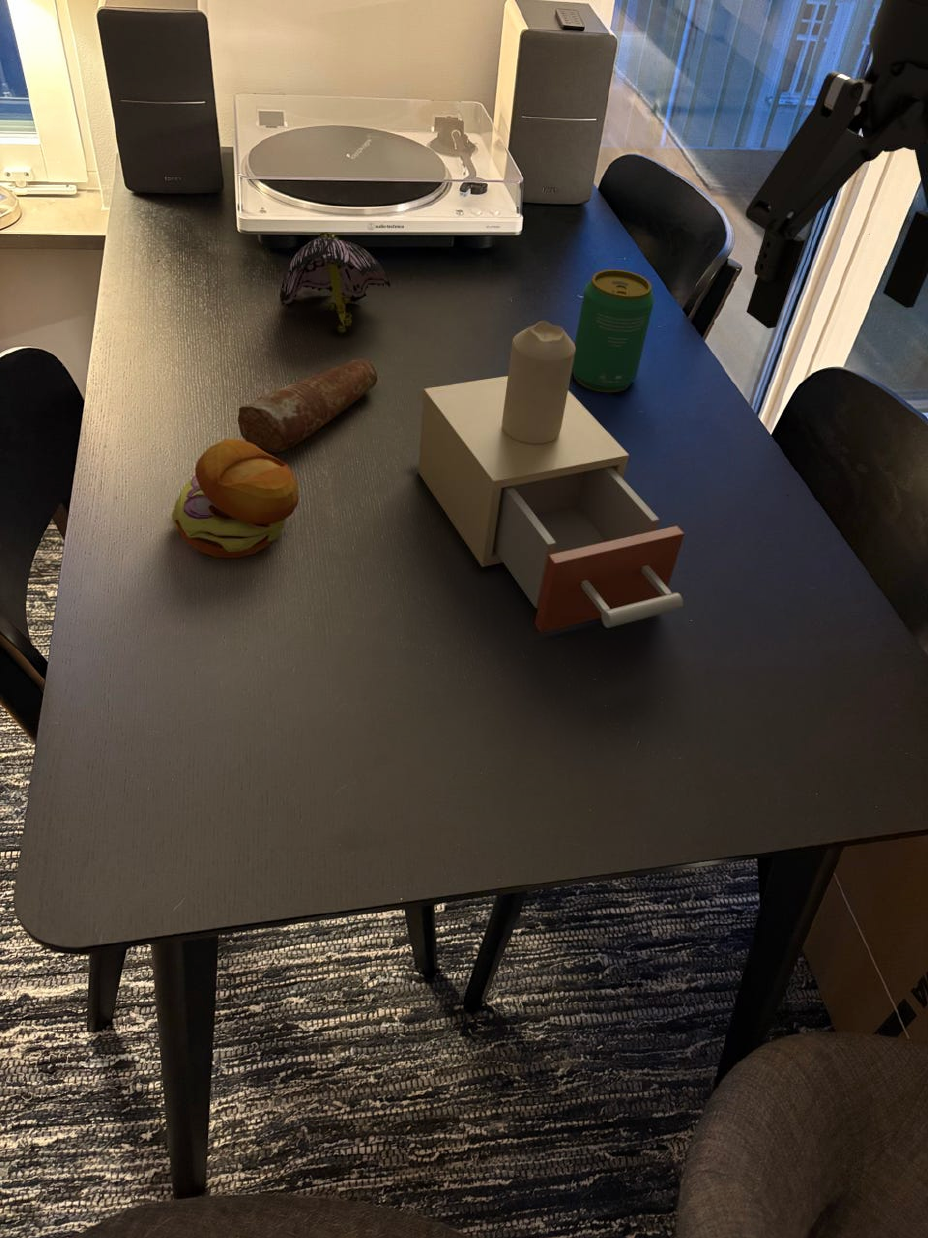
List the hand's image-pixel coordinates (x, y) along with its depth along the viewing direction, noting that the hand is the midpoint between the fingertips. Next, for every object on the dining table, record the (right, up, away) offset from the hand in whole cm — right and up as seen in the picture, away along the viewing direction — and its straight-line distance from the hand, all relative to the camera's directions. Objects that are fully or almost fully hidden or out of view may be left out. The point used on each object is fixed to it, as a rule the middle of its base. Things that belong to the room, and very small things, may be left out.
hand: (831, 309), depth 75 cm
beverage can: (-12, +5, +43) cm, 45 cm away
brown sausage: (-45, -2, +31) cm, 55 cm away
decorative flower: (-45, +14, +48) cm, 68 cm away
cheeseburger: (-50, -16, +16) cm, 55 cm away
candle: (-22, -6, +15) cm, 28 cm away
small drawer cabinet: (-24, -12, +23) cm, 35 cm away
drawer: (-18, -21, +14) cm, 31 cm away
